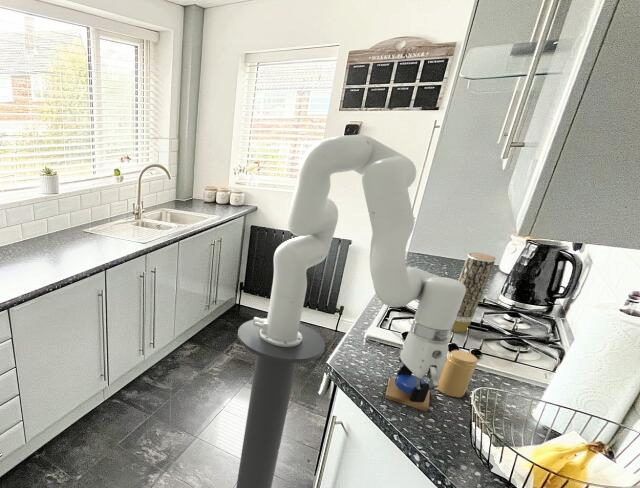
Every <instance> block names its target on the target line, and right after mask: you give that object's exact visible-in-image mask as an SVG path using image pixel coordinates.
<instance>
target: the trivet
mask: <svg viewBox="0 0 640 488" xmlns="http://www.w3.org/2000/svg"><path fill="white" fill-rule="evenodd" d="M395 379H396V378H394V377H389V379H388V382H387V385H386V390H385V396H384V399H386V400H389V401H393V402H395V403H397V404H401V405H405V406H408V407H411V408H414V409H417V410H421V411H424V412H428V410H429V408H430V395H431V390H428V393H427V396H426V398H425V401H424V402H411V401H410V397H411V394H408V393H406V392H404V391H402V390H400V389H399V388H398V387H397V386H396V384H395Z"/></svg>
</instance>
